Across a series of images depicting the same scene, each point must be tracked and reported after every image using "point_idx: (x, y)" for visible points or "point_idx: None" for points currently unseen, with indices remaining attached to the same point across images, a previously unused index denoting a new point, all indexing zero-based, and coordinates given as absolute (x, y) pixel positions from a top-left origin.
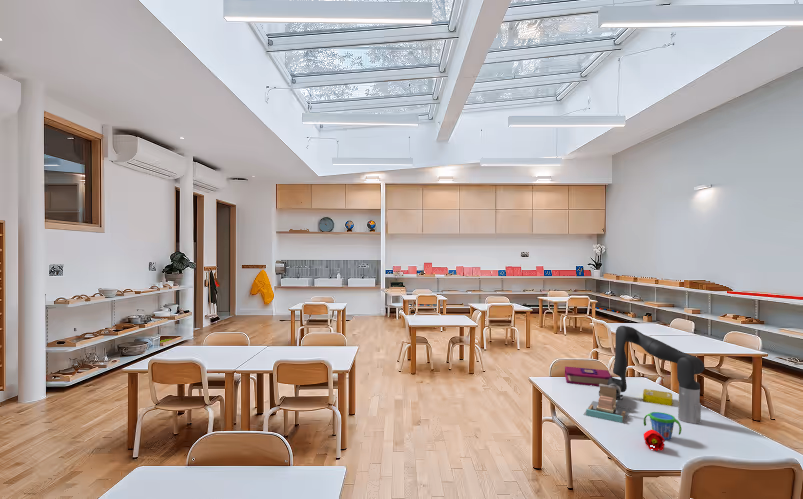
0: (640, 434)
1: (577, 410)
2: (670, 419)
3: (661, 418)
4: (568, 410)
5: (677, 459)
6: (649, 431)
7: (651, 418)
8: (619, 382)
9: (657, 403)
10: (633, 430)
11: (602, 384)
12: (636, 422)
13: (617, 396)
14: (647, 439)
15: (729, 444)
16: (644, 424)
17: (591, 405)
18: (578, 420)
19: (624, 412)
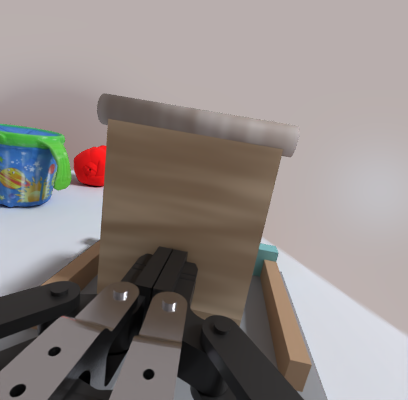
0: (88, 207)
1: (346, 331)
2: (13, 126)
3: (34, 134)
4: (375, 316)
5: (73, 171)
6: (105, 151)
7: (63, 144)
8: None
9: None
10: (97, 218)
11: (259, 120)
12: (21, 262)
13: (6, 305)
14: (101, 178)
15: None
16: (68, 181)
17: (296, 340)
18: (273, 245)
19: (53, 278)
